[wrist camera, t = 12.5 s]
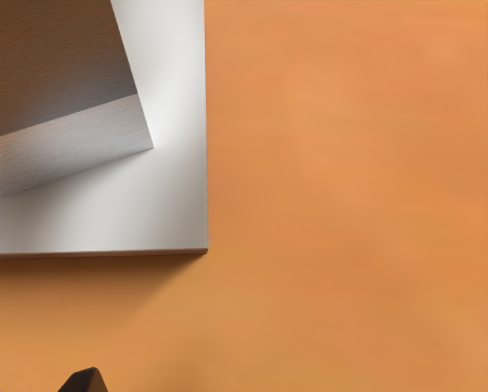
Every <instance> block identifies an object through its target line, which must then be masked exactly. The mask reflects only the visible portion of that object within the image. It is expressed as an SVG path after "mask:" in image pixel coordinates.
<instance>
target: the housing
mask: <svg viewBox="0 0 488 392" xmlns="http://www.w3.org/2000/svg"><path fill="white" fill-rule="evenodd" d="M152 148H154V145H153V142H152V139H151V135H150V132H149V128H148V125H147V122H146V118H145V115H144V112H143V108H142V105H141V102H140V98H139V95H138V91H137V88H136V85H135V81H134V78H133V75H132V71H131V68H130V64H129V61H128V58H127V54H126V51H125V48H124V44H123V41H122V38H121V34H120V31H119V27H118V24H117V21H116V17H115V14H114V11H113V7H112V4H111V1H110V0H0V195H1V196H3V197H6V198H8V197H11V196H14V195H17V194H20V193H23V192H26V191H29V190H32V189H35V188H38V187H41V186H43V185H46V184H49V183H52V182H55V181H58V180H61V179H64V178H67V177H70V176H73V175H76V174H79V173H82V172H85V171H87V170H90V169H93V168H96V167H99V166H102V165H105V164H108V163H111V162H114V161H117V160H120V159H123V158H126V157H129V156H131V155H134V154H137V153H140V152H143V151H146V150H149V149H152Z"/></svg>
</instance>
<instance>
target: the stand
mask: <svg viewBox="0 0 488 392" xmlns="http://www.w3.org/2000/svg"><path fill="white" fill-rule="evenodd" d="M110 1H111V4H112V7H113V11H114V14H115V17H116V21H117V24H118V27H119V31H120V34H121V38H122V41H123V44H124V48H125V51H126V54H127V58H128V61H129V64H130V68H131V71H132V75H133V78H134V81H135V85H136V88H137V91H138V95H139V98H140V102H141V105H142V108H143V112H144V115H145V118H146V122H147V125H148V128H149V132H150V135H151V139H152V142H153V145H154V148H152V149H149V150H146V151H143V152H140V153H137V154H134V155H131V156H129V157H126V158H123V159H120V160H117V161H114V162H111V163H108V164H105V165H102V166H99V167H96V168H93V169H90V170H87V171H85V172H82V173H79V174H76V175H73V176H70V177H67V178H64V179H61V180H58V181H55V182H52V183H49V184H46V185H43V186H41V187H38V188H35V189H32V190H29V191H26V192H23V193H20V194H17V195H14V196H11V197H8V198H6V197H3V196H1V195H0V260H4V259H39V258H74V257H109V256H144V255H179V254H207V251H208V198H207V145H206V92H205V39H204V0H110Z"/></svg>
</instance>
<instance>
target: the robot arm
mask: <svg viewBox="0 0 488 392" xmlns="http://www.w3.org/2000/svg"><path fill="white" fill-rule="evenodd" d="M58 392H108V391H107V388H106V386H105V383H104V381H103V379H102V376H101V374H100V372H99V370H98V369H97V368H95V367H91V368H88V369H85V370H81V371H78V372H75V373H73V374H72V375H71V376H70V377H69V379H68V380H67V381H66V382H65V383H64V385H63V386H62V387H61V388H60V389H59V391H58Z"/></svg>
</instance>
